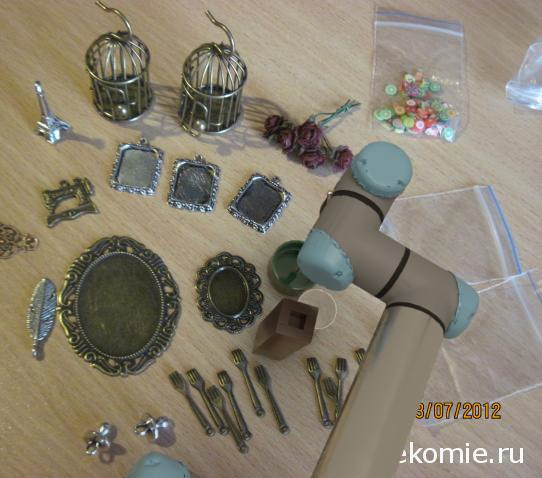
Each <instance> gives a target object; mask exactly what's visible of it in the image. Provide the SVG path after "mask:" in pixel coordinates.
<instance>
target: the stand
mask: <svg viewBox="0 0 542 478" xmlns="http://www.w3.org/2000/svg"><path fill="white" fill-rule="evenodd" d="M318 311H319V308H318V307H315V306H312V305H308V304H305V303H302V302H298V301H297V300H295V299H292V298H289V297H286V296H285V297H283V298H282V299H281V300H280V301H279V302H278V303H277V305H276V306H275V307H274V308H273V309H272V310H271V311H270V312H269V313H268V314H267V315H266V317H264V319H263V320H262V321H261V322H260V323H259V324H258V327H257V331H256V335H255V339H254V342H253V347H252V350H251V353H252V354H254V355H258V356H262V357H264V358H268V359H271V360H274V361H278V362H281V361H282V360H284V359H286V358H287V357H290V356H291V355H293V354H295V353H297V352H298V351H300V350H301V349H303V348H306V347H308V346H309V345H310V344H312V341H313V338H314V333H315V332H314V329H315V324H316V320H317V315H318Z"/></svg>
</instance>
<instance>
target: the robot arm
mask: <svg viewBox="0 0 542 478" xmlns="http://www.w3.org/2000/svg"><path fill="white" fill-rule="evenodd" d="M413 172H414V171H413V164H412V161H411V158H410V156H409V155H408V154H407V152H406V151H405V150H404V149H402V148H401V147H399V146H398V145H397V144H394V143H392V142H391V141H390V142H389V141H386V140H385V141H384V140H379V141H378V140H377V141H373V142H370V143H367V144H366V145H364V147H362V148H361V149H360V150H359V152H357V153H355V155H354V156H353V158H352V160H351V162H350V163H349V165H348V167H347V168H346V169H345V170H344V172H343V173H342V175H341V177H340V178H339V180H338V181H337V183H336V184H335V185H334V187H333V188H332V189H328V190H327V192H326V198H324V200H323V202H322V204H320V208H319V212H318V218H317V219H316V221H315V223H314V224H313V226H312V227H311V229H310V230H309V231H308V234H307V237H306V239H305V240H304V244H303V246H302V248H301V250H300V252H299V254H298V257H297V263H298V266H299V268H300V270H301V271H302V273H303V274H304V275H305V276H306V277H307V278H308V279H310V280H311V281H313V282H314V283H316V284H315V285H318V286H320V287H323V288H325V289H326V290H329V291H333V292H341V291H346V289H347V288H348V287H349V286H350V285H352V284H353V285H354V286H356V287H357V288H359V289H361V290H363V291H364V292H365V293H368V294H369V295H370V296H372V297H374V298H376V299H378V300H379V301H381V302H383V303H384V304H385V306H384V308H383V309H384V310H383V311H382V314H381V316H380V318H379V321H378V323H377V325H376V328H375V330H374V332H373V334H372V337H371V339H370V341H369V343H368V345H367V348H366V350H365V352H364V355H363V357H362V360H361V362H360V363H359V366H358V368H357V371H356V373H355V374H354V377H353V380H352V382H351V385H350V387H349V389H348V392H347V394H346V396H345V398H344V401H343V402H342V404H341V407H340V410H339V412H338V415H337V417H336V419H335V421H334V423H333V426H332V428H331V431H330V432H329V435H328V437H327V439H326V442H325V444H324V446H323V449H322V451H321V453H320V456H319V458H318V460H317V462H316V464H315V467H314V469H313V471H312V474H311V476H310V478H395V477H396V474H397V471H398V468H399V466H400V463H401V460H402V457H403V454H404V452H405V449H406V445H407V442H408V440H409V437H410V434H411V431H412V428H413V425H414V423H415V421H416V417H417V414H418V412H419V409H420V406H421V403H422V400H423V397H424V395H425V392H426V389H427V387H428V383H429V380H430V378H431V374H432V371H433V369H434V366H435V364H436V360H437V357H438V355H439V352H440V349H441V347H442V344H443V341H444V339H445V340H453V339H456V338H457V337H459V336H460V335H462V334H463V333H464V332H465V331H466V330H467V328H468V327H469V326H470V324H471V323H472V319H473V318H474V316H475V315H476V314H477V312H478V309H479V305H480V296H479V292H478V291H477V290H476V288H474V287H473V286H472V285H470V284H469V283H467V281H464V280H463V279H461V278H460V277H458V276H457V275H456V274H455V273H454V272H452V271H450V270H447V269H445V268H443V267H441V266H440V265H438V264H437V263H434V262H433V261H431V260H429V259H427V258H425V257H424V256H422V255H420V254H419V253H417V252H415V251H414V250H413V249H410V248H409V247H407V246H405V245H404V244H402V243H401V242H399V241H397V240H395V239H394V238H392V237H390V236H389V235H387V234H386V233H384V232H382V231H380V229H381V227H382V225H383V224H384V221H385V219H386V218H387V215H388V213H389V212H390V210H391V208H392V206H393V204H394V202H395V201H396V199H397V198H398V197H399V196H400V195H403V194H404V192H405V190H406V188H407V186H408V185H409V184H410V182H411V181H412V178H413ZM123 478H202V477H201V476H199V475H198V474H196V473H195V472H194V471H192V470H191V469H189V468H188V467H187V465H185V464H184V463H183V462H181V461H179V460H177V459H175V458H172V457H170V456H168V455H166V454H164V453H162V452H159V451H149V452H146V453H145V454H143V455H142V456H141V457H140V458H139V459H138V460H136V462H135V463H134V464H132V467H131V468H130V470H129V471H128V473H127V474H126V475H124V477H123Z"/></svg>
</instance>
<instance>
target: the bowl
mask: <svg viewBox="0 0 542 478" xmlns="http://www.w3.org/2000/svg"><path fill="white" fill-rule="evenodd" d="M304 242H305V240H300V239H291V240H288V241H285V242H283V243H282V244H281V245H279V246H278V247H277V248H276V250H275V252H273V255H272V256H271V258H270V259H269V261H268V265H267V277H268V279H269V282H270V284H271V285H272V286H273V287H274V289H276V290H277V291H278V292H280V293H281V294H283V295H286V296H291V297H300V296H301V295H302V294H303V293H304V292H306V291H308V290H311V289H313V288H314V286H316V285H317V284H316V283H314V282H313V281H311V280H310V279H308V278H307V277H306V276H305V275H304V274H303V273H302V271H301V272H299V273H298V272H296V271H295V267H296V265H297V264H298V263H297V257H298V254H299V252H300V250H301V248H302V246H303V244H304Z"/></svg>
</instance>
